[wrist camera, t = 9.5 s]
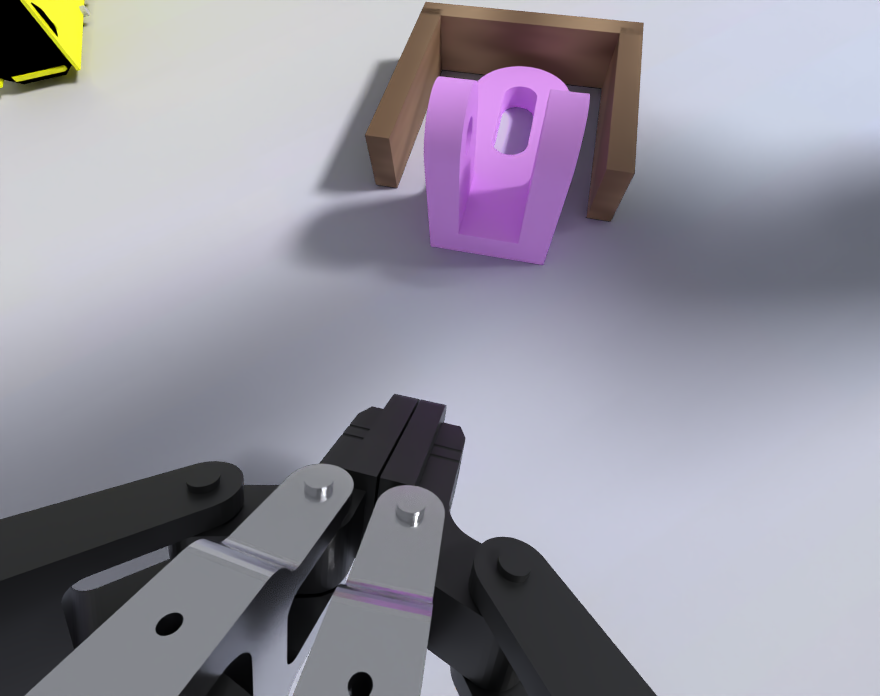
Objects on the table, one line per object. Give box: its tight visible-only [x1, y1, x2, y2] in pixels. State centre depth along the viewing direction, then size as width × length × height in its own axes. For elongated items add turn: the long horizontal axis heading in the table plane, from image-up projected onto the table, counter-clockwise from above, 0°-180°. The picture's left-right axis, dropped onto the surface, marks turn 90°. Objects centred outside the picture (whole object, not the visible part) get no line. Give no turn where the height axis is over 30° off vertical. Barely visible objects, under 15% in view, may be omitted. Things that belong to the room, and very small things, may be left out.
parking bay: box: [365, 2, 644, 221], centre depth 22 cm, size 12×12×3 cm
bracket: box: [424, 66, 590, 265], centre depth 20 cm, size 13×6×7 cm, turn 167°
